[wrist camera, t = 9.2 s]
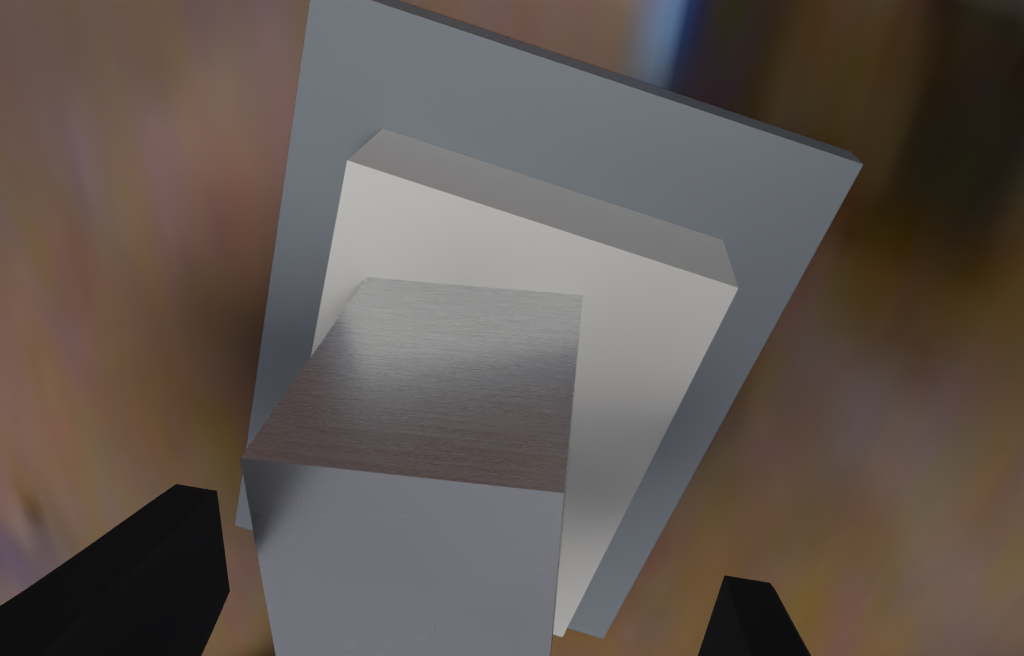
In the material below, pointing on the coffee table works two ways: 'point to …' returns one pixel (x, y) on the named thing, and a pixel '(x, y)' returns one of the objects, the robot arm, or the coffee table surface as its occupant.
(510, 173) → the display stand
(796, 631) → the robot arm
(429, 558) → the block
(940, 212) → the coffee table surface
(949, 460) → the coffee table surface
